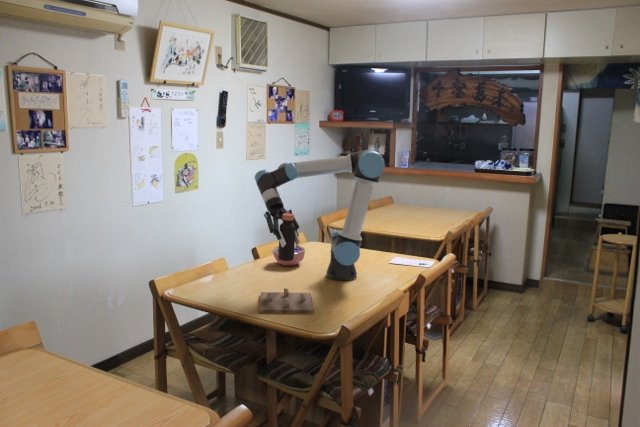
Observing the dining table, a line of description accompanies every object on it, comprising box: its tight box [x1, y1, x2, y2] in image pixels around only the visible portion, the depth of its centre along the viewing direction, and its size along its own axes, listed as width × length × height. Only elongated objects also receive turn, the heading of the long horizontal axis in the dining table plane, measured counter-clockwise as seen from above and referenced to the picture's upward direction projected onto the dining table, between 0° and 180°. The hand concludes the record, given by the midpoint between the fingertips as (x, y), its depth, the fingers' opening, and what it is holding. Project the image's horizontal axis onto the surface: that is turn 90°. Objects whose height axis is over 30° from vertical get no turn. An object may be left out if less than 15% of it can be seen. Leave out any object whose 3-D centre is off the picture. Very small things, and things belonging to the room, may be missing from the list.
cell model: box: [271, 244, 306, 267], centre depth 287 cm, size 17×20×11 cm
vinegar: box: [278, 213, 296, 261], centre depth 233 cm, size 7×7×20 cm
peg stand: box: [258, 287, 315, 315], centre depth 224 cm, size 22×22×4 cm
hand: (291, 244), depth 231 cm, fingers closed on vinegar, 7 cm apart
